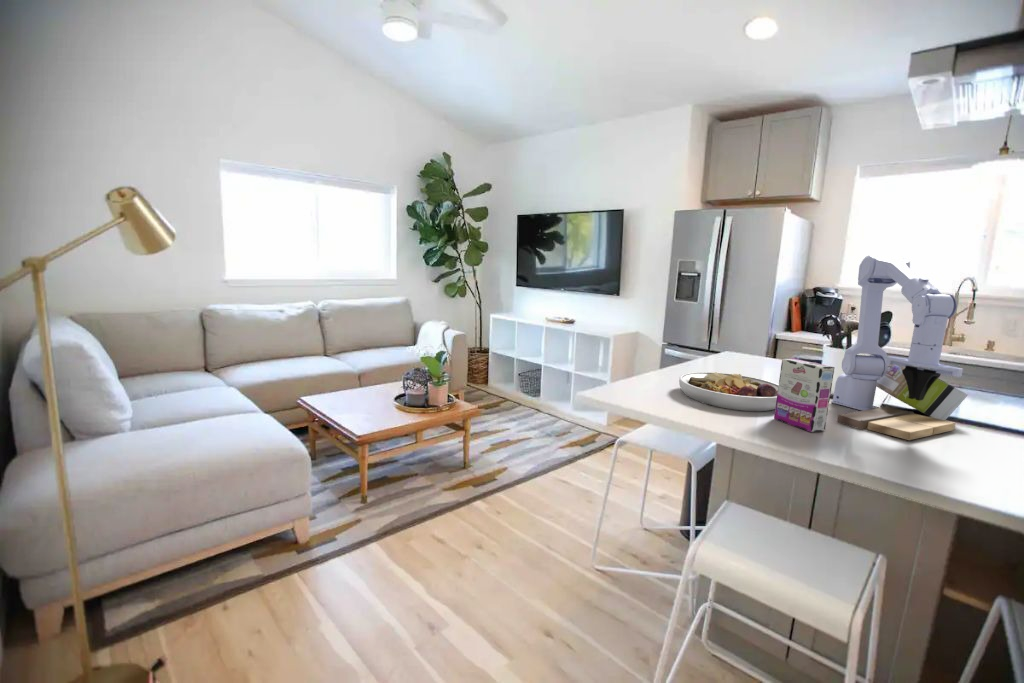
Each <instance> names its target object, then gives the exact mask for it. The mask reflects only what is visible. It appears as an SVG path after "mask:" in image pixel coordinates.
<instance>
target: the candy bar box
mask: <svg viewBox="0 0 1024 683" xmlns="http://www.w3.org/2000/svg"><path fill="white" fill-rule="evenodd" d="M834 374H835V367H834V366H831V365H825V364H822V363H817V362H811V361H807V360H802V359H797V358H782V359H781V365H780V373H779V378H778V379H779V380H778V385H779V386H778V393H777V400H776V407H775V409H774V413H773V414H774V416H773V418H774V420H776V421H778V422H782V423H784V424H787V425H790V426H792V427H795V428H799V429H801V430H804V431H805V432H809V433H820V432H826V424H827V419H828V411H829V405H830V398H831V392H832V386H833V382H834Z"/></svg>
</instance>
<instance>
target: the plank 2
mask: <svg viewBox="0 0 1024 683" xmlns="http://www.w3.org/2000/svg"><path fill="white" fill-rule="evenodd" d="M893 418H895V419H899V420H903V421H908V422H912V423H916V424H920V425H925V426H929V427H933V433H932V435H931V436H935V435H938V434H943V433H947V432H951V431H955V430H956V429H955V427H956V422H954V421H949V420H941V419H936V418H931V417H930V416H927V415H921V414H918V413H913V414H909V415H904V416H898V417H893Z"/></svg>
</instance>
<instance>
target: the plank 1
mask: <svg viewBox="0 0 1024 683" xmlns="http://www.w3.org/2000/svg"><path fill="white" fill-rule="evenodd" d="M867 430H868V431H872V432H875V433H881V434H884V435H888V436H893V437H896V438H899V439H902V440H907V441H911V440H916V439H920V438H924V437H929V436H933V435H932V433H933V427H929V426H925V425H920V424H916V423H912V422H908V421H903V420H899V419H895V418H888V419H882V420H877V421H871V422H868V428H867Z"/></svg>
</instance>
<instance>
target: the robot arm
mask: <svg viewBox="0 0 1024 683" xmlns="http://www.w3.org/2000/svg"><path fill="white" fill-rule="evenodd" d="M896 284H898V285H899V286H900V287H901V294H902V295H903V297H904V298H906V299H907V301H908V302H909V303H910V304H911V312H912V320H911V321H912V324H914V327H913V332H912V337H911V342H910V348H909V354H908V357H900V356H899V357H898V356H888V355H887V354H888V353H887V352H886V351H885V350H884V349H883V348H881V347H880V346H879V338H880V331H881V330H880V329H881V319H882V318H881V317H882V308H883V300H884V299H883V298H884V291H885V290H886V289H888V288H891V287H894V286H895V285H896ZM857 285H858V286H860V287H861V296H860V306H859V318H858V327H857V328H858V329H857V339H856V343H855V344H853V345H852V346H849V347H848V348H847V349H845V351H844V356H843V358H842V362H841V371H842V372H843V373H841V374H840V375H839V376H837V378H836V381H835V383H834V389H833V390H834V391H833V396H832V400H831V401H830V402H831V403H833V404H836V405H839V406H840V405H841V406H842V407H843V406H844V407H847V408H851V409H854V410H859V411H864V410H870V409H876V408H880V407H879V406H876V405H874V403H875V402H874V401H875V398H876V390H877V387H876V385H877V380H880V379H881V377H883V376H884V375H885V374H886V373H887V370H888V364H889V365H897V366H902V367H905V369H903V370H902V373H903V375H904V377H905V379H906V382H907V386H908V391H909V398H910V399H915V398H916V400H919V401H920V400H923V399H924V397H925V395H926V393H927V391H928V389H929V388H930V387H931V385H932V384H933V383H934V382H935V381H936V380H937V379H940V376H941V375H946V376H950V377H954V378H961V377H962V375H963V372H964V368H960V367H955V366H951V365H947V364H943V363H940V359H941V355H942V354H941V353H942V350H943V345H944V339H945V334H946V330H947V325H948V319H949V320H950V319H951V318H953V317H954V315H956V314H955V313H956V311H957V308H958V302H957V299H956V297H955V296H954V294H952V293H942V292H941V291H940V290H939V289H938V288H936V287H935V286H934V285H933V284H932V283H931V282H930V279H929V278H927V277H917V275H915V273H914V272H913V271H912V270H911V261H910V260H908V258H907V257H905V256H899V257H898V256H878V255H877V256H874V255H867V256H865V257H864V258H863V259H862V261H861V262H860V264H859V266H858V277H857ZM863 354H864V355H863ZM865 354H866V355H865ZM911 365H912V366H911Z"/></svg>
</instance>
